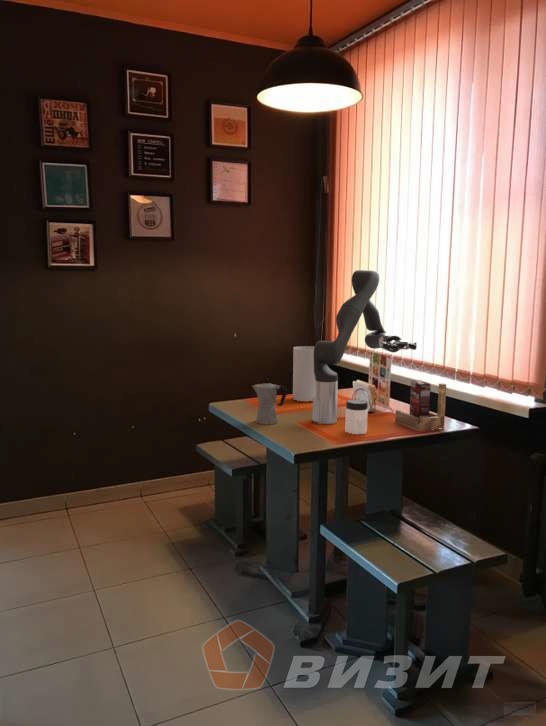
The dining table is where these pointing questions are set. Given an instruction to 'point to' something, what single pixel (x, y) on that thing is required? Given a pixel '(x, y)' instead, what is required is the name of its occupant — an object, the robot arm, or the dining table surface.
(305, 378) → the cylinder vase
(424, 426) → the bracket
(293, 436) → the dining table surface
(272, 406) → the coffeepot
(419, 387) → the supplement box
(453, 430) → the dining table surface
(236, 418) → the dining table surface
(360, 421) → the jar
